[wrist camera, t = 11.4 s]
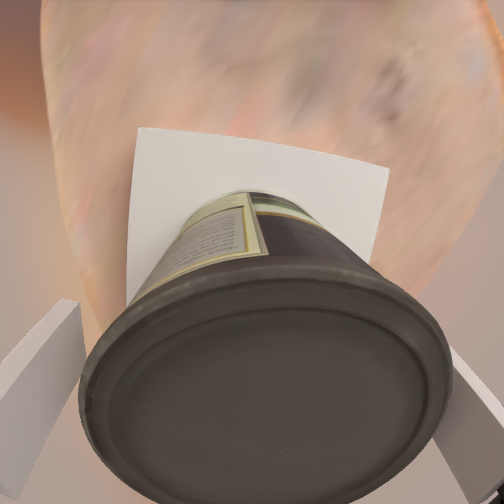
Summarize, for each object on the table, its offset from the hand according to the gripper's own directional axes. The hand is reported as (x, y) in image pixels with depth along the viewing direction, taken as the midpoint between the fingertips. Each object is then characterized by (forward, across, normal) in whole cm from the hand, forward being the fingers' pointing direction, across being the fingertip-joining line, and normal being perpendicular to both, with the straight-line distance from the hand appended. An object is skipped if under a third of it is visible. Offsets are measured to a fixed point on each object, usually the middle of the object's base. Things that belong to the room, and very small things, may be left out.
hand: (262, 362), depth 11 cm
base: (+15, 0, -1) cm, 15 cm away
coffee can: (+10, 0, 0) cm, 10 cm away
